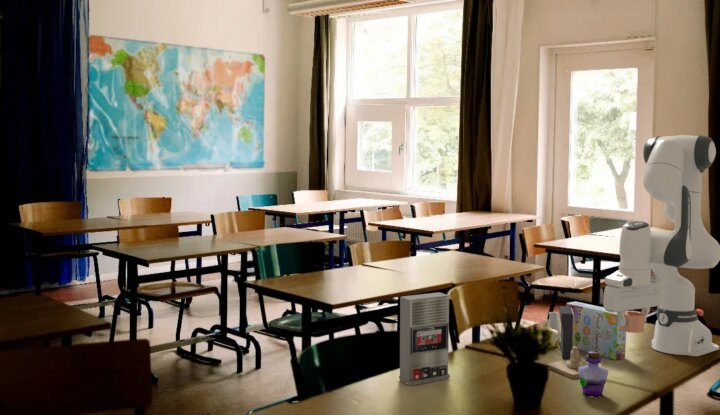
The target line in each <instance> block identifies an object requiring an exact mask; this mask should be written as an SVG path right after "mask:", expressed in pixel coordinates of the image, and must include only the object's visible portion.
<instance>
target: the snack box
mask: <svg viewBox="0 0 720 415" xmlns="http://www.w3.org/2000/svg"><path fill="white" fill-rule="evenodd" d="M565 306H567V307H571V308H572V310H573V314H574V333H575V335H574V347H577V350H578V351H579V350H581V351H583V352H587V353H588V352H589V351H594V352H599V353H600V356H601V357H604V358H608V359H611V360H615V361H616V360H620V359H625V358H626V347H627V346H626V345H627V332H626V331H623V330H622V325H620V319H619V317H618V315H617V312H614V313H613V312H609V311H606V310H605V308H604V306H598V305H593V304H589V303H584V302H579V301H570V302H566V304H565Z"/></svg>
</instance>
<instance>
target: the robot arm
mask: <svg viewBox="0 0 720 415" xmlns="http://www.w3.org/2000/svg"><path fill="white" fill-rule="evenodd" d="M642 152H643V160H644V163H645V164H646V165H645V169H644V173H643V180H642V184H643V187H644V189H645V191H646V192H647V193H648V194H649V195H650V196H651V197H652V198H654V199H656V200H658V201H660V202H662V203H664V210H663V213H664V216H665V217H666V218H667V219H668V220H669V221H670V222H672V223H674V230H671V231H669V232H667V231H656V230H655V231H654V230H651V226H650V224H649V223H648V222H645V221H640V220H639V221H638V220H635V221H628V222H625V223H624V224H623V225H622V227H621V232H620V239H619V247H618V248H619V250H618V253H619V256H620V260H619V264H618V270H616V271H614V272H613V273H611V274H610V275H609V274H608V275H607V276H606V277H605V279H604V284H606V286H605V288H604V292H603V308H605V310H606V311H609V312H613V313H614V312H617V315H618V317H619V319H620V325H622V326H624V325H627V324H628V323H627V322H628V319H625V316H624V314H625V313H626V311H635V310H640V309H641V312H642V313H644V323H646V322H647V317H648V315H649V314H650V311H651V308H653V307H656V317H657V320H656V321H655V326H654V333H653V339H651V348H652V349H653V350H655V351H658V352H661V353H665V354H669V355H670V354H671V355H679V356H680V355H681V356H690V357H699V356H703V355H706V354H710V353H712V352H715V351H718V350H720V345H718V344H717V343H713V335H712V332H711V330H710V329H709V328H708V327H707V326H706V325H705V324H703V323H702V322H701V321H700V320H699V317H698V316H701V317H702V316H703V315H704V311H703V309H700V308H696V309H695V302H696V301H695V299H696V298H695V297H696V296H695V295H696V288H695V285H694V284H693V283H692V282H691V281H690V280H689V279H688V278H686V277H684V276H682V275H681V274H680V273H679V271H678V268H683V269H684V268H685V269H694V270H695V269H696V270H705V269H713V268H715V267H716V266H717V265H718V263H719V262H720V243H719V242H718V240H716V239H715V238H714V237H713V236H712V235H711V234H710V233H709V232H708V231H707V229H706V227H705V226H704V223H703V220H702V208H701V207H702V194H703V193H702V192H703V179H702V178H703V177H702V173H704V172H705V170H707V169H709V168H710V167H711V166H712V165H713V163H714V161H715V158H716V154H717V150H716V146H715V141H714V140H713V139H712V138H711V137H709V136H707V135H693V134H692V135H691V134H690V135H689V134H679V135H666V136H654V137H651V138H649V139H647V141H646V142H645V143H644V146H643V150H642ZM651 272H652V273H653V274H651Z"/></svg>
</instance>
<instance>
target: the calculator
mask: <svg viewBox="0 0 720 415" xmlns="http://www.w3.org/2000/svg"><path fill="white" fill-rule="evenodd" d="M559 320H560V333H561V343H560V353H561V354H562V355H561V354H560V355H561V358H562V360H571V350H573V347H574V335H575V333H574V314H573V310H572V308H571V307H567V306H566V305H564V306H563V305H562V306H561V305H559Z"/></svg>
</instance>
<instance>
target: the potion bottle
mask: <svg viewBox="0 0 720 415" xmlns="http://www.w3.org/2000/svg"><path fill="white" fill-rule="evenodd" d="M585 362H586V363H588V365H587V366H581V367H579V368H578V373H579V384H580V385H581V389H582V395H583V396H586V397H587V396H593V397H592V398H594V397H597V398H599V397H598V396H602V397H603V391H604V388H605V384H606V382H607V380H608V375H609V369H607V368H604V367H602V366H599V364H601V363H602V356H600V353H599V352H594V351H589V352H587V354H586V355H585Z"/></svg>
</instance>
